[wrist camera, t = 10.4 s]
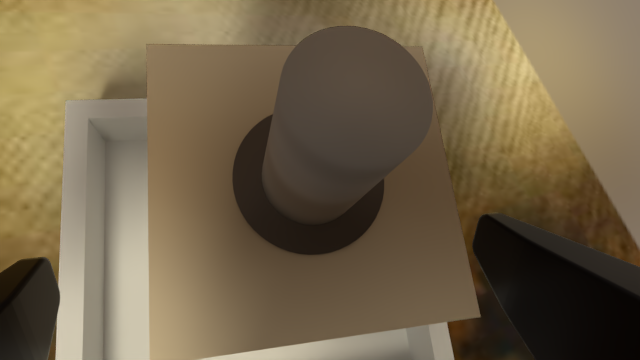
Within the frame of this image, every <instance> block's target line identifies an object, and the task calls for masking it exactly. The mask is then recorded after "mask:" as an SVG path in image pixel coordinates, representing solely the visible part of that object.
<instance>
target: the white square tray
mask: <svg viewBox="0 0 640 360" xmlns="http://www.w3.org/2000/svg"><path fill="white" fill-rule="evenodd" d="M59 291H60V305H59V309H58V314H57V337H56V360H150V353H149V252H148V151H147V98H139V99H97V100H66V109H65V134H64V159H63V185H62V210H61V236H60V261H59ZM196 360H454V356H453V351H452V346H451V341H450V336H449V331H448V326H447V322H443V323H437V324H430V325H423V326H417V327H410V328H403V329H397V330H390V331H383V332H377V333H370V334H363V335H357V336H350V337H343V338H337V339H330V340H323V341H316V342H310V343H303V344H296V345H290V346H283V347H276V348H270V349H263V350H256V351H250V352H243V353H236V354H230V355H223V356H216V357H210V358H203V359H196Z"/></svg>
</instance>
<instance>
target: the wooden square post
mask: <svg viewBox="0 0 640 360" xmlns="http://www.w3.org/2000/svg"><path fill="white" fill-rule="evenodd" d="M146 50H147V151H148V252H149V353H150V360H196V359H203V358H210V357H216V356H223V355H230V354H236V353H243V352H250V351H256V350H263V349H270V348H276V347H283V346H290V345H296V344H303V343H310V342H316V341H323V340H330V339H337V338H343V337H350V336H357V335H363V334H370V333H377V332H383V331H390V330H397V329H403V328H410V327H417V326H423V325H430V324H437V323H443V322H450V321H457V320H464V319H470V318H477V317H481V316H480V311H479V307H478V302H477V298H476V293H475V288H474V284H473V279H472V274H471V270H470V265H469V261H468V256H467V251H466V247H465V242H464V238H463V233H462V228H461V224H460V219H459V214H458V210H457V205H456V201H455V196H454V191H453V187H452V182H451V178H450V173H449V168H448V164H447V159H446V154H445V150H444V145H443V141H442V136H441V131H440V127H439V122H438V118H437V113H436V108H435V104H434V99H433V94H432V90H431V85H430V81H429V76H428V71H427V67H426V62H425V58H424V53H423V48H422V47H403V46H401V45H400V44H398V43H397V42H396V41H394V40H393V39H391V38H389V37H387V36H386V35H383V34H381V33H379V32H376V31H373V30H370V29H367V28H362V27H356V26H337V27H331V28H327V29H323V30H320V31H318V32H315V33H313V34H311V35H310V36H308V37H306V38H305V39H303V40H302V41H301V42H300V43H299V44H298V45H297V46H294V45H186V44H146Z"/></svg>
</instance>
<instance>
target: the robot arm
mask: <svg viewBox="0 0 640 360" xmlns="http://www.w3.org/2000/svg"><path fill="white" fill-rule="evenodd" d="M473 252H474V254H475V256H476V258H477V260H478V262H479V264H480V266H481V268H482V270H483V272H484V274H485V276H486V278H487V280H488V282H489V284H490V286H491V288H492V289H493V291H494V293H495V295H496V297H497V299H498V301H499V303H500V305H501V307H502V308H503V310H504V312H505V313H506V315H507V317H508V318H509V320H510V321H511V323H512V324H513V326H514V327H515V329H516V331H517V332H518V334H519V335H520V337H521V338H522V340H523V341H524V343H525V345H526V346H527V348H528V349H529V351H530V352H531V354H532V355H533V357H534V358H535V360H640V267H638V266H636V265H633V264H631V263H628V262H625V261H623V260H620V259H618V258H615V257H613V256H610V255H607V254H605V253H602V252H600V251H597V250H594V249H592V248H589V247H587V246H584V245H582V244H579V243H576V242H574V241H571V240H569V239H566V238H563V237H561V236H558V235H556V234H553V233H551V232H548V231H545V230H543V229H540V228H538V227H535V226H532V225H530V224H527V223H525V222H522V221H520V220H517V219H514V218H512V217H509V216H507V215H504V214H501V213H489V214H483V215H482V216H481V217H480V218H479V221H478V224H477V228H476V232H475V236H474V240H473ZM59 305H60V291H59V287H58V284H57V281H56V278H55V275H54V272H53V269H52V266H51V263H50V261H49V260H48V259H47V258H45V257H38V258H27V259H21V260H19V261H17V262H16V263H14V264H13V265H11V266H10V267H8V268H7V269H5V270H4V271H2V272H1V273H0V360H47V359H48V355H49V350H50V346H51V341H52V336H53V332H54V327H55V323H56V318H57V314H58V309H59Z"/></svg>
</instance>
